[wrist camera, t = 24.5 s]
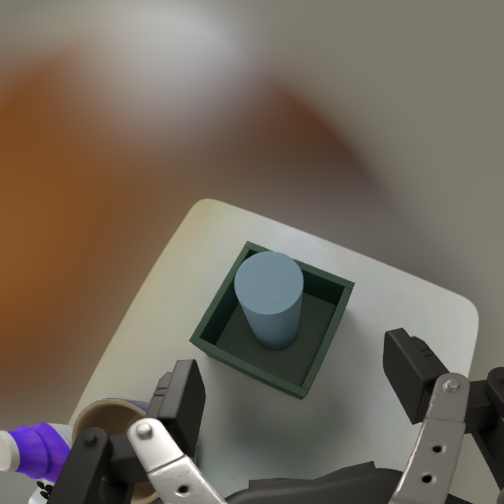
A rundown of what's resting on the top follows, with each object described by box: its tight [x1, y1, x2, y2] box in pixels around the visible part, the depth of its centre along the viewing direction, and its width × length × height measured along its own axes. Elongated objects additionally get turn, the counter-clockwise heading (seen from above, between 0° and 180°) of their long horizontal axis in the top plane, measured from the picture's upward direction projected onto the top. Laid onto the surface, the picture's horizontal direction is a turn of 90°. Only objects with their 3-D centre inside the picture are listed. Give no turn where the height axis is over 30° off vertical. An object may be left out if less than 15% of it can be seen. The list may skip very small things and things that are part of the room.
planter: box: [71, 398, 198, 504], centre depth 26 cm, size 11×11×11 cm
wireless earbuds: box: [37, 481, 53, 499], centre depth 24 cm, size 7×2×5 cm, turn 65°
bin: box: [189, 241, 355, 400], centre depth 33 cm, size 13×13×7 cm
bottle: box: [0, 422, 74, 483], centre depth 22 cm, size 7×6×17 cm
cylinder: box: [234, 251, 304, 351], centre depth 29 cm, size 5×5×14 cm
